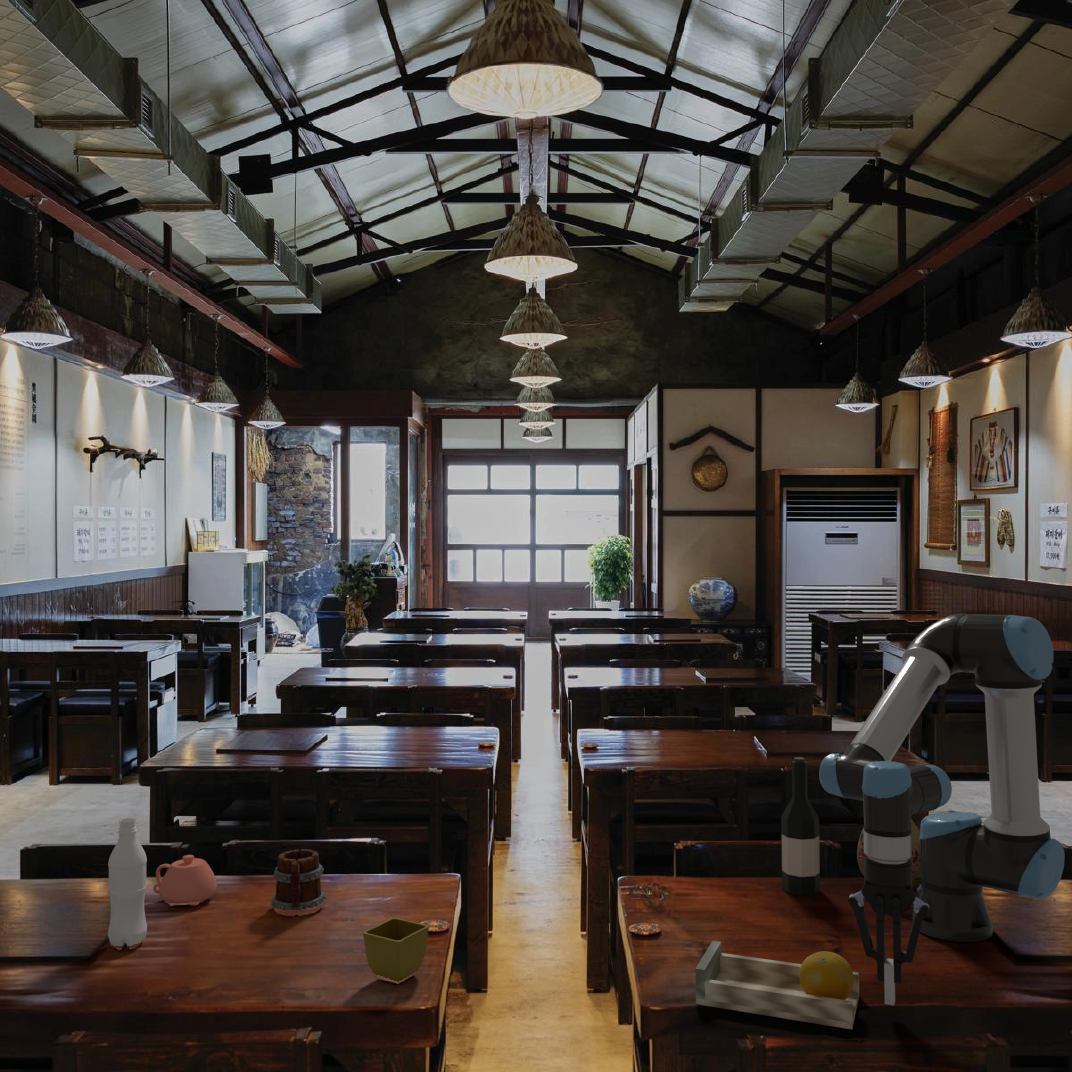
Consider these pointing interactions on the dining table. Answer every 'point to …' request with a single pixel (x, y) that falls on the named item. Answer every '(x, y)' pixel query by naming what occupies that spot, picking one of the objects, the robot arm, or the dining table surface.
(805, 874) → the wine bottle
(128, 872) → the water bottle
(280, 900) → the mug
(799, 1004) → the channel
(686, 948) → the dining table surface
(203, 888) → the sugar bowl
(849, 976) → the fruit
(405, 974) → the flower pot
